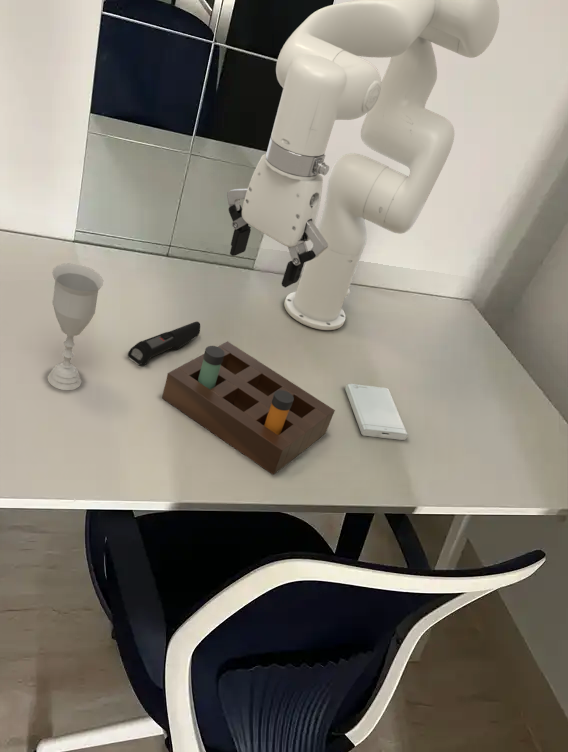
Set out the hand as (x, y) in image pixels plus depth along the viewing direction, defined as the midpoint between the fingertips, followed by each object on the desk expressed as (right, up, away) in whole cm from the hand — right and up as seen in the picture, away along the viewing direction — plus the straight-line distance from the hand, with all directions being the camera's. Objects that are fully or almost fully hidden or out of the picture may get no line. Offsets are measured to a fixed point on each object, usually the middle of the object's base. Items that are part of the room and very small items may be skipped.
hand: (262, 268), depth 118 cm
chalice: (-30, -16, +4) cm, 35 cm away
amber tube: (+1, -26, +5) cm, 27 cm away
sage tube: (-10, -19, +9) cm, 23 cm away
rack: (-3, -21, +9) cm, 24 cm away
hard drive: (+19, -21, +20) cm, 34 cm away
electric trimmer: (-17, -9, +17) cm, 26 cm away
